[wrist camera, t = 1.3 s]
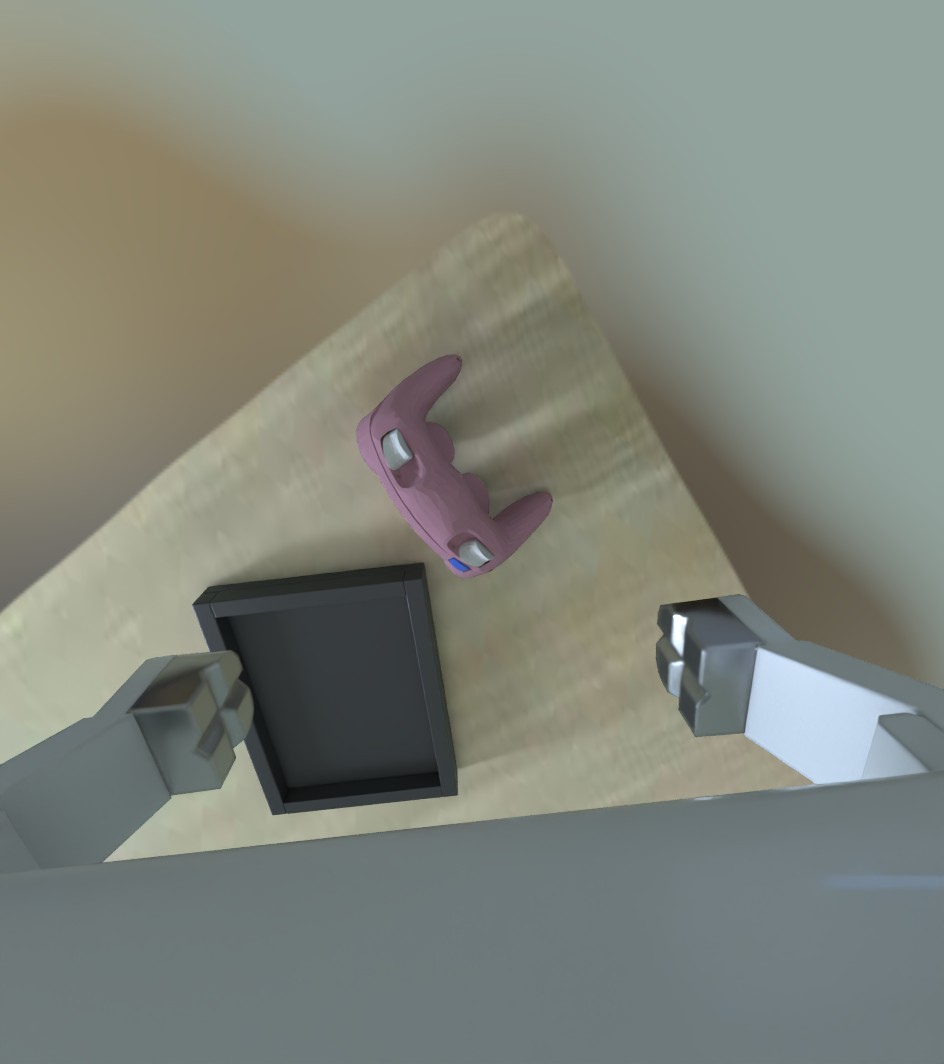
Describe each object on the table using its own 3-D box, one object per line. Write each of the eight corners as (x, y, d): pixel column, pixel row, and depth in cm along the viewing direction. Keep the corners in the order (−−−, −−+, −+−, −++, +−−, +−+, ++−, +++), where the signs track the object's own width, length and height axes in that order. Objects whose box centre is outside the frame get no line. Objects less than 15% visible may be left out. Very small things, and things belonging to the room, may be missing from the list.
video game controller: (393, 384, 26) (318, 446, 21) (457, 338, 23) (389, 395, 18) (497, 526, 29) (454, 610, 24) (563, 500, 26) (531, 588, 21)
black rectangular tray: (424, 562, 28) (421, 579, 26) (457, 770, 35) (457, 795, 33) (207, 586, 28) (190, 604, 26) (281, 789, 35) (272, 815, 33)
